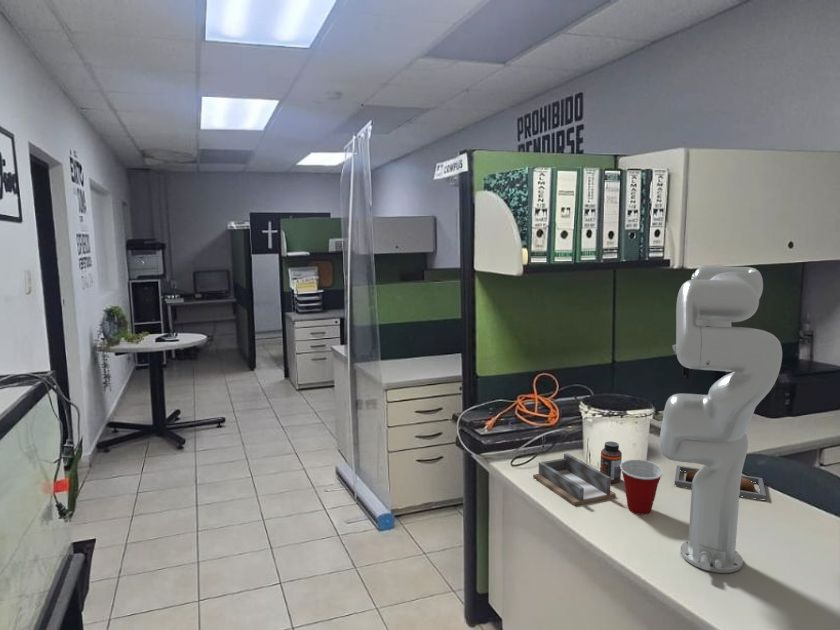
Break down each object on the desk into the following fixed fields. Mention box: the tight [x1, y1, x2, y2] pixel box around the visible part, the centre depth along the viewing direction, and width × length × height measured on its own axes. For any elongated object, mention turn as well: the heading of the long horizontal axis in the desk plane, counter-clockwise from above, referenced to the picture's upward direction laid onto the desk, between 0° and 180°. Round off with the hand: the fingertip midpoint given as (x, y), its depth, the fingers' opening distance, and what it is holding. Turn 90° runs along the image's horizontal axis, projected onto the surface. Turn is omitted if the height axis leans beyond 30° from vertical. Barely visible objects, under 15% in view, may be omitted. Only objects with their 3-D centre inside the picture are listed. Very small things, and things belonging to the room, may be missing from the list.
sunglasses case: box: [684, 470, 756, 493], centre depth 172 cm, size 18×7×7 cm
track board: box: [532, 452, 617, 507], centre depth 171 cm, size 20×14×6 cm
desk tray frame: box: [673, 465, 767, 500], centre depth 172 cm, size 13×23×2 cm, turn 64°
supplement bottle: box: [599, 441, 623, 484], centre depth 176 cm, size 6×6×11 cm
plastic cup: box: [620, 458, 664, 515], centre depth 156 cm, size 11×11×12 cm
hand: (706, 379), depth 153 cm, fingers open, 9 cm apart
